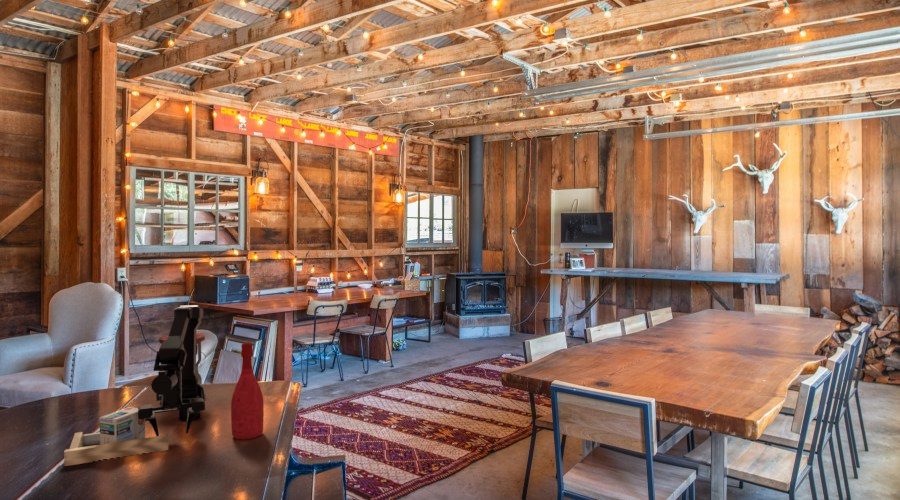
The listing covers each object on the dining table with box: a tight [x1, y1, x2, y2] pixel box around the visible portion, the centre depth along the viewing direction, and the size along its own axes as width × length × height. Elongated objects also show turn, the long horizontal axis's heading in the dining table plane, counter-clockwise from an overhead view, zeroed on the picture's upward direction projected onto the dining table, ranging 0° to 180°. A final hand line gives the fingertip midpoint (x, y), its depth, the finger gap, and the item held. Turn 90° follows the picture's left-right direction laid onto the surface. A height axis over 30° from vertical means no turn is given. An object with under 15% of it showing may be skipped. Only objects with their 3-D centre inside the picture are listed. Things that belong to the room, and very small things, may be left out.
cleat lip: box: [82, 431, 100, 447], centre depth 179 cm, size 6×2×3 cm, turn 118°
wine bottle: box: [230, 341, 265, 440], centre depth 185 cm, size 10×10×30 cm
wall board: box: [63, 431, 169, 467], centre depth 175 cm, size 26×17×4 cm, turn 118°
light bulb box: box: [99, 406, 146, 445], centre depth 175 cm, size 11×7×11 cm, turn 162°
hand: (172, 435), depth 182 cm, fingers open, 8 cm apart
